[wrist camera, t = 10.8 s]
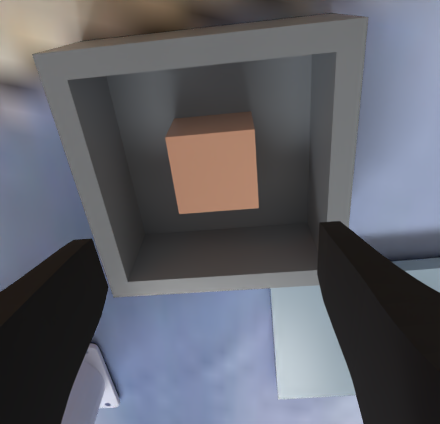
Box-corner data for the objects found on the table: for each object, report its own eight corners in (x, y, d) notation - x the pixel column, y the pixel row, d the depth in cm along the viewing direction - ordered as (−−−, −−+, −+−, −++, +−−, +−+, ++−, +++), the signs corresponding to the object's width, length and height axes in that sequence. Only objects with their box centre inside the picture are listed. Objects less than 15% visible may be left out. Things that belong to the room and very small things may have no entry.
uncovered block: (185, 187, 21) (179, 214, 18) (173, 118, 19) (164, 137, 16) (255, 181, 20) (258, 208, 18) (251, 111, 18) (254, 129, 16)
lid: (275, 379, 31) (284, 445, 26) (267, 263, 24) (276, 324, 20) (428, 370, 30) (464, 437, 25) (460, 247, 23) (517, 307, 19)
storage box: (134, 242, 23) (113, 297, 19) (81, 41, 17) (32, 54, 13) (321, 229, 23) (343, 283, 18) (332, 13, 17) (368, 17, 12)
